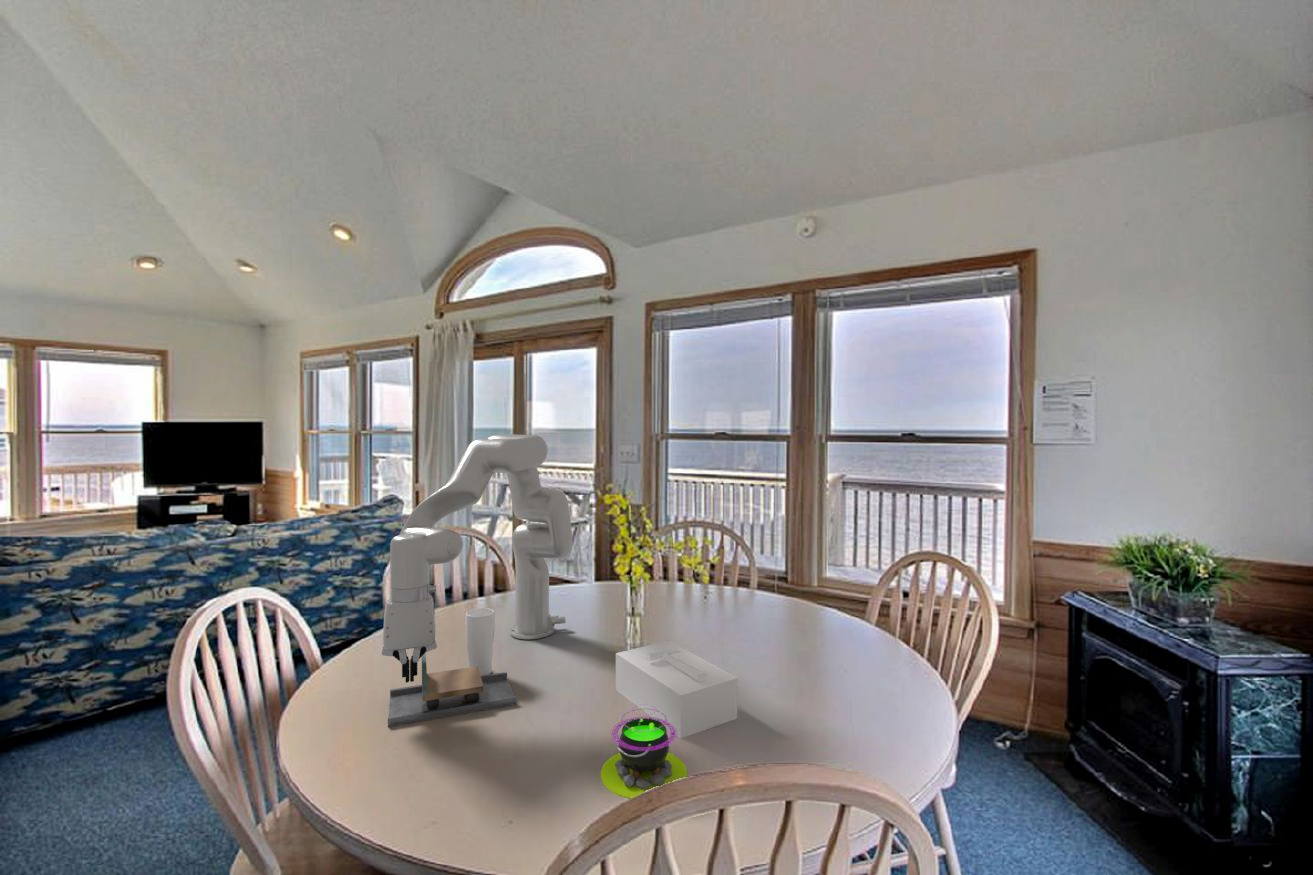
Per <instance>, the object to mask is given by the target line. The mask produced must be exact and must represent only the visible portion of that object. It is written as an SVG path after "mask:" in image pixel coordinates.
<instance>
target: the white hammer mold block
mask: <svg viewBox="0 0 1313 875" xmlns="http://www.w3.org/2000/svg"><path fill="white" fill-rule="evenodd" d="M738 681H739V680H738V677H737V676H734V674H731V673H729V672H728V671H725V669H724V670H723V669H722V668H720V667H718V666H716V665H714V664H713V663H711V662H709V661H707V660H705V659H703V658H701V657H699V656H698V655H695V654H694V653H691V652H690V651H688V650H686V649H684V648H683V647H681V646H678V645H677V644H675V643H673V642H671V641H669V640H665V641H662V642H656V643H653V644H649V645H643V646H640V647H637V648H636V647H635V648H632V649H628V650H623V651H620V652H619V651H618V652H616V653H615V691H616V692H618V693H619V694H621V695H622V696H623V697H624V698H626V699H627V700H629V701H630V702H631V703H632V704H634V706H638V709H640V710H641V711H643V712H645V713H646V715H647V716H649V717H650V718H651V717H656V718H655V719H656V720H657V718H660V720H661V719H662V720H663V721H665V716H666V717H667V718H666V720H667V721H668V722H669V723H670V724H669V725H671V726H672V727H673V728H676V729H673V730H677V731H675V735H676V736H677V737H678V738H679V739H684V738H686V737H687V738H688V737H689V736H692V735H695V734H698V733H701V732H703V731H706V730H709V729H711V728H715V727H717V726H720V725H723V724H725V723H728V722H732V721H734V720H736V719H738V695H739V693H738V688H739V687H738ZM640 704H641V705H640ZM647 705H648V706H647ZM652 706H653V707H652ZM655 707H656V709H657V711H659V712H660V713H659V712H657V711H654V710H653V709H655ZM643 708H646V709H643ZM649 709H651V710H649ZM656 709H655V710H656ZM654 712H655V714H654ZM661 713H663V715H662V714H661ZM649 714H650V715H649ZM664 715H665V716H664ZM662 720H661V721H662ZM661 721H660V722H661ZM665 722H666V721H665ZM668 722H667V723H668ZM669 725H667V726H669ZM664 726H665V727H666V730H668V731H670V730H671V729H672V728H671V729H668V727H667V726H666V725H664ZM671 726H669V728H670V727H671ZM673 730H671V731H670V733H671V732H673ZM673 733H674V732H673Z"/></svg>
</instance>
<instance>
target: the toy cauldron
mask: <svg viewBox="0 0 1313 875" xmlns="http://www.w3.org/2000/svg"><path fill="white" fill-rule="evenodd" d="M640 705H641V704H640ZM647 706H648V705H647ZM637 707H638V706H637V705H634V707H632V709H631V710H629V711H628V712H626V713H623V715H622V717H621V719H620V721H619V722H617V723H616V724H615V725H614V726H613V728H611V733H610V737H611V739H612V741H613V742H614V743H615V744H617V746H616V749H617V750H618V751H619V752H618V753H615V754H613V755H612V756H611V757H609V758H608V759H607V760H606V761H605V762H604V763H603V765H602V767H601V768H600V769H601V770H600V779H601V782H602V784H603V785H604V787H606V789H607V790H609V791H610V792H612V793H613V794H615V795H617V796H619V797H623V798H626V799H630V798H631V797H636V796H637V795H639V794H641V793H643V792H645V791H646V790H649V789H651V788H653V787H656V786H661V785H663V784H665V783H668V782H672V781H673V780H676V779H679V778H683V777H688V771H687V767H686V765H685V764H684V762H683V761H682V760H681V758H679V757H678V756H676V755H675V754H673V753H672V752H669V750H670V745H671V743H672V742H673V741H675V740H676V739H677V737H678V736H676V735H675V731H677V730H673V729H676V728H673V727H672V726H671V725H669V724H670V723H669V722H668V721H667V720H666V718H667V717H666V716H665V715H664V716H665V721H666V722H665V721H663V720H662V719H661V720H662V721H661V720H660V718H657V720H656V719H655V718H656V717H651V716H650V714H649V715H648V714H645V715H644V714H643V715H642V714H638V713H637V712H635V711H636V708H637ZM652 707H653V706H652ZM643 709H646V708H643ZM655 709H656V707H655ZM655 709H653V710H654V711H657V709H656V710H655ZM638 710H641V708H639V707H638ZM649 710H651V709H649ZM631 712H635V713H634V715H636V716H635V717H634V716H633V717H630V718H625V719H624V717H625V716H626V715H627V714H629V713H631ZM657 712H659V711H657ZM659 713H660V712H659ZM654 714H655V712H654ZM661 714H662V715H663V713H661ZM648 716H650V717H648ZM646 717H647V718H646ZM660 721H661V722H660ZM667 722H668V723H667ZM664 725H666V726H667V725H669V726H671V727H670V728H669V726H667V727H668V729H671V728H672V729H671V730H673V732H674V733H673V732H671V730H669V731H670V735H668V732H667V730H668V729H667V728H666V727H665V726H664ZM620 728H622V729H621V734H620V735H619V733H618V732H619V729H620Z"/></svg>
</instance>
